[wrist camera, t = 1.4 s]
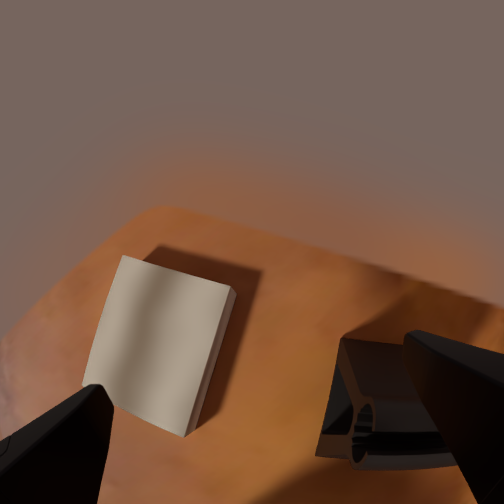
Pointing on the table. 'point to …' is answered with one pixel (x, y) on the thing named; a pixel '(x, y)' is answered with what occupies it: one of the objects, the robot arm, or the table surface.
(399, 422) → the phone stand
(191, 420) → the base block
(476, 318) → the table surface
